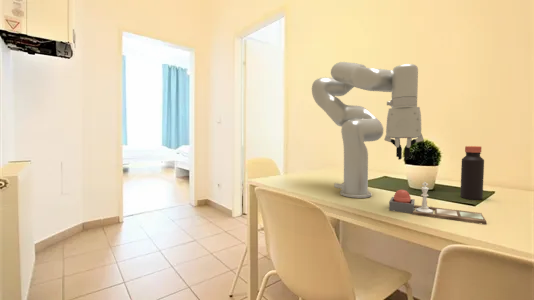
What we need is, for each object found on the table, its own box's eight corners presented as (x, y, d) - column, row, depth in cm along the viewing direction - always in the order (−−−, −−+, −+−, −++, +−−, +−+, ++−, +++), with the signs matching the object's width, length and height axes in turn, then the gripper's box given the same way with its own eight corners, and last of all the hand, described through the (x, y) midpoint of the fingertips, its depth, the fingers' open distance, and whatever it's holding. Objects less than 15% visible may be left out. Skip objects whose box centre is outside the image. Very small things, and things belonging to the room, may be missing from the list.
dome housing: (389, 210, 87) (389, 201, 87) (391, 205, 93) (392, 196, 93) (413, 213, 84) (413, 204, 83) (414, 208, 89) (414, 199, 89)
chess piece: (435, 214, 82) (436, 183, 81) (418, 214, 83) (419, 183, 82) (429, 210, 87) (430, 180, 86) (413, 209, 88) (414, 180, 87)
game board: (412, 214, 83) (412, 211, 83) (414, 207, 90) (414, 204, 90) (486, 224, 73) (486, 221, 73) (481, 215, 81) (481, 212, 81)
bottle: (457, 195, 106) (459, 145, 104) (478, 196, 103) (480, 146, 102) (463, 199, 99) (465, 147, 98) (485, 200, 97) (487, 147, 95)
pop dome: (392, 204, 87) (393, 190, 87) (394, 200, 92) (395, 187, 91) (409, 206, 85) (410, 192, 84) (410, 202, 89) (411, 189, 89)
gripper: (376, 104, 87) (376, 159, 88) (431, 101, 79) (430, 161, 80) (380, 106, 93) (379, 157, 94) (431, 103, 85) (430, 159, 86)
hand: (402, 159), depth 87 cm, fingers closed
